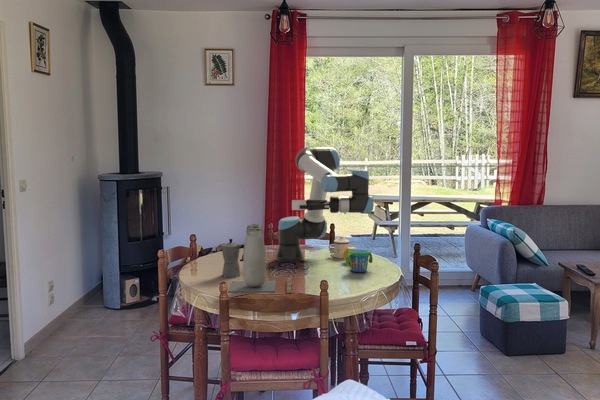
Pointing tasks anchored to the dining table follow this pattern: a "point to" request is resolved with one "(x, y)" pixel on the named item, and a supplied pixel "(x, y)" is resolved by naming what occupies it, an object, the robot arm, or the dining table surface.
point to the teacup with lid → (339, 246)
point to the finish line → (288, 286)
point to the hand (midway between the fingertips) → (291, 204)
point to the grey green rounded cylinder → (254, 256)
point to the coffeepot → (231, 258)
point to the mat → (243, 287)
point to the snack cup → (358, 259)
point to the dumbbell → (347, 252)
